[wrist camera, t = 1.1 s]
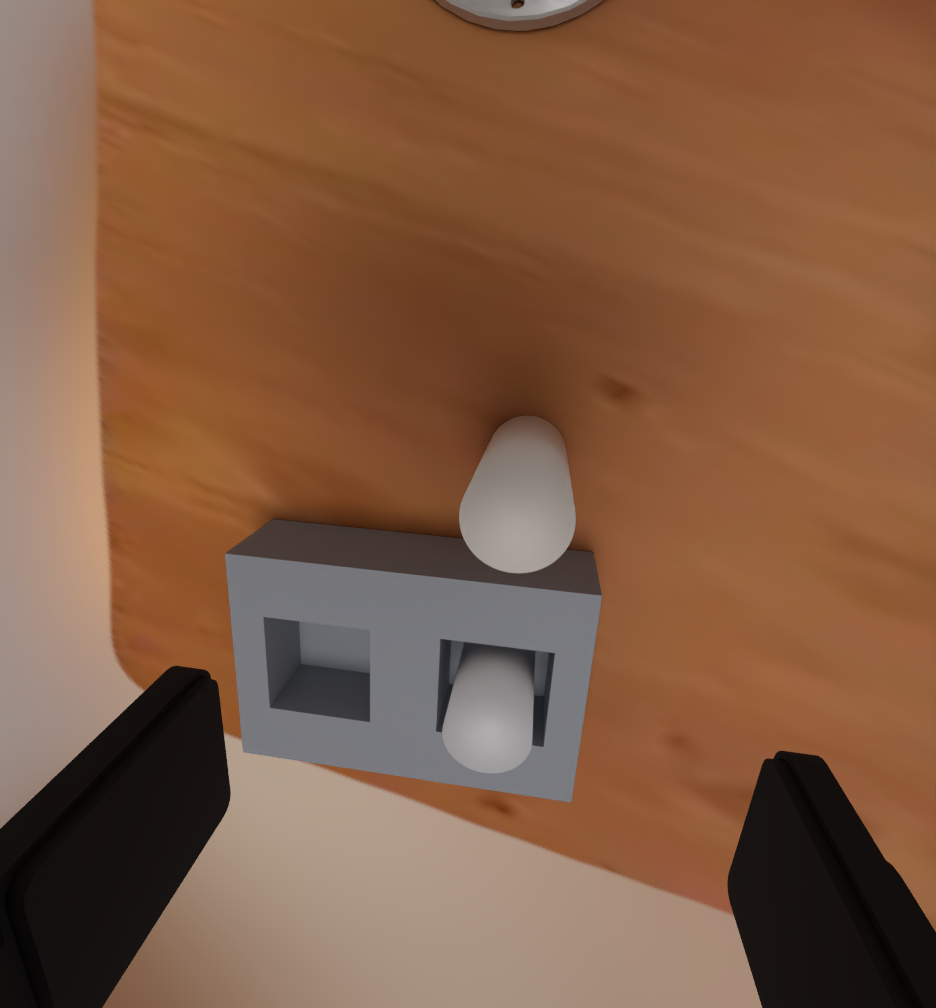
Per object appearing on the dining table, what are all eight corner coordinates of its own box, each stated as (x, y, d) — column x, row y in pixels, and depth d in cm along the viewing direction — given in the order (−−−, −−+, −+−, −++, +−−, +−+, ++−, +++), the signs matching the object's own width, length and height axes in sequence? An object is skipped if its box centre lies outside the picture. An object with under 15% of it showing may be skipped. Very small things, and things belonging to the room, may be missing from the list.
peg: (490, 412, 28) (462, 458, 19) (570, 418, 28) (582, 469, 18) (485, 488, 29) (456, 566, 20) (561, 495, 29) (568, 579, 19)
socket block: (272, 518, 32) (187, 580, 24) (593, 552, 30) (609, 631, 22) (283, 694, 35) (212, 795, 28) (567, 734, 33) (573, 854, 26)
